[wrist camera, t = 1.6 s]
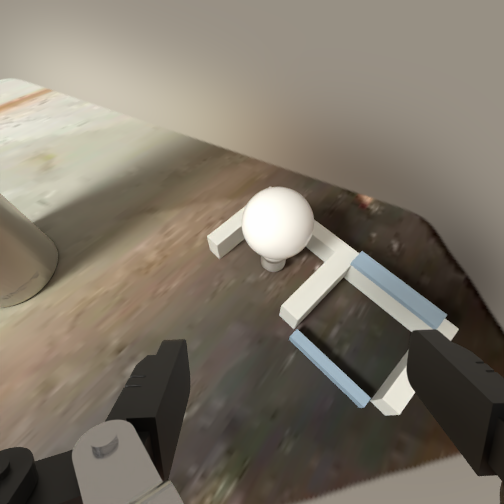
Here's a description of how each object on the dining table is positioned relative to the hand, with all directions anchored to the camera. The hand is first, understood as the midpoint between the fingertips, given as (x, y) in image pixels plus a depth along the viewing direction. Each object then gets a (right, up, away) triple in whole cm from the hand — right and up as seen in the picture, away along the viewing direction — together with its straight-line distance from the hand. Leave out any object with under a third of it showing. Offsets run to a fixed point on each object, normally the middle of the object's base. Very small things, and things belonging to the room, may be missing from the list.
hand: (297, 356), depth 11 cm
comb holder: (+4, -1, +21) cm, 22 cm away
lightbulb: (+1, +2, +23) cm, 23 cm away
